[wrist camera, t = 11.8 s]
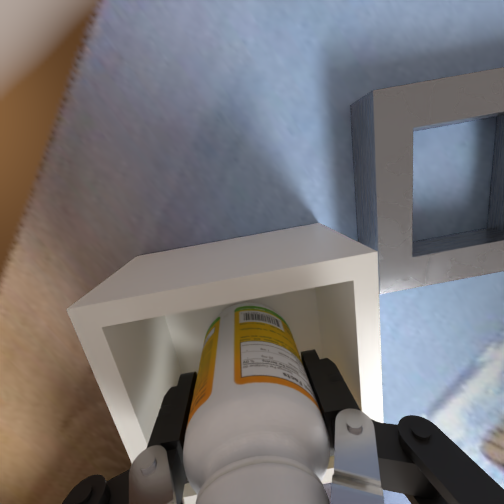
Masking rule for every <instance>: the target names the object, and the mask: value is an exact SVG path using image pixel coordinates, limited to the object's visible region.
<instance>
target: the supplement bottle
mask: <svg viewBox="0 0 504 504" xmlns="http://www.w3.org/2000/svg"><path fill="white" fill-rule="evenodd" d="M329 459H330V441H329V435H328V432H327V428H326V425H325V422H324V419H323V415H322V413H321V410H320V408H319V405H318V403H317V400H316V398H315V395H314V392H313V390H312V387H311V384H310V382H309V379H308V377H307V374H306V371H305V368H304V366H303V363H302V360H301V357H300V355H299V352H298V349H297V347H296V344H295V341H294V338H293V336H292V333H291V331H290V328H289V326H288V324H287V322H286V321H285V319H284V318H283V317H282V316H281V315H280V314H279V313H278V312H276V311H275V310H273V309H272V308H270V307H268V306H265V305H262V304H257V303H242V304H237V305H234V306H231V307H229V308H227V309H225V310H224V311H222V312H221V313H220V314H219V315H217V316H216V317H215V319H214V320H213V321H212V322H211V324H210V326H209V327H208V330H207V332H206V335H205V339H204V344H203V349H202V353H201V359H200V364H199V369H198V374H197V379H196V384H195V389H194V394H193V399H192V404H191V409H190V413H189V418H188V423H187V428H186V433H185V441H184V448H183V464H184V469H185V473H186V476H187V479H188V481H189V483H190V485H191V487H192V488H193V490H194V491H195V493H196V494H197V499H196V504H330V502H329V499H328V496H327V493H326V491H325V489H324V487H323V484H322V482H321V481H322V479H323V478H324V476H325V473H326V471H327V468H328V464H329Z"/></svg>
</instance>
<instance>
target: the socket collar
mask: <svg viewBox="0 0 504 504" xmlns="http://www.w3.org/2000/svg"><path fill="white" fill-rule="evenodd" d="M350 107H351V124H352V142H353V160H354V178H355V196H356V214H357V232H358V242H359V243H361V244H363V245H365V246H367V247H369V248H371V249H373V250H376V251H378V280H379V294H384V293H390V292H395V291H400V290H406V289H411V288H416V287H422V286H427V285H432V284H438V283H443V282H448V281H454V280H459V279H464V278H469V277H475V276H480V275H485V274H491V273H496V272H501V271H504V67H503V68H497V69H491V70H486V71H480V72H474V73H469V74H463V75H457V76H452V77H446V78H440V79H435V80H429V81H423V82H418V83H412V84H407V85H401V86H395V87H390V88H384V89H378V90H373V91H371V92H370V93H368V94H367V95H365V96H364V97H362V98H361V99H359V100H358V101H356V102H355V103H353V104H352V105H350ZM496 116H497V126H496V137H495V148H494V159H493V170H492V181H491V192H490V203H489V213H488V224H487V228H485V229H480V230H475V231H469V232H464V233H459V234H453V235H448V236H442V237H437V238H432V239H426V240H421V241H415V242H412V211H413V131H418V130H423V129H429V128H434V127H440V126H446V125H451V124H457V123H462V122H468V121H473V120H479V119H485V118H490V117H496Z"/></svg>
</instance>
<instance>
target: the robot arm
mask: <svg viewBox="0 0 504 504" xmlns="http://www.w3.org/2000/svg"><path fill="white" fill-rule="evenodd" d="M301 360H302V363H303V366H304V368H305V371H306V374H307V377H308V379H309V382H310V384H311V387H312V390H313V392H314V395H315V398H316V400H317V403H318V405H319V408H320V410H321V413H322V415H323V419H324V422H325V425H326V428H327V432H328V435H329V441H330V456H334V475H332V486H331V504H384V497H383V490H388V491H393V492H398V493H403V494H405V495H406V497H407V498H408V500H409V501H410V502H411V504H504V489H503V488H502V487H501V486H500V485H498V484H497V483H496V482H495V481H494V480H493V479H492V478H491V477H490V476H489V475H488V474H487V473H486V472H485V471H484V470H483V469H481V468H480V467H479V466H478V465H477V464H476V463H475V462H474V461H473V460H472V459H471V458H470V457H469V456H468V455H467V454H465V453H464V452H463V451H462V450H461V449H460V448H459V447H458V446H457V445H456V444H455V443H454V442H453V441H452V440H451V439H449V438H448V437H447V436H446V435H445V434H444V433H443V432H442V431H441V430H440V429H439V428H438V427H437V426H436V425H434V424H433V423H432V422H430V421H429V420H427V419H425V418H422V417H419V416H413V415H410V416H405V417H403V418H402V419H401V420H400V421H399V424H398V425H394V424H386V423H380V422H377V421H374V420H372V419H370V418H369V416H367V415H366V414H365V413H364V412H362V411H361V410H360V408H359V406H358V405H357V403H356V401H355V399H354V397H353V395H352V394H351V392H350V390H349V388H348V386H347V384H346V382H345V381H344V379H343V377H342V375H341V374H340V371H339V370H338V368H337V366H336V364H335V363H333V362H332V361H331V360H330V359H329V358H324V359H319V357H318V355H317V352H316V350H315V349H313V350H307V351H302V352H301ZM196 379H197V372H196V371H194V372H189V373H184V374H181V375H180V377H179V381H178V384H177V386H174V387H171V388H170V389H169V390H168V392H167V393H166V394H165V396H164V398H163V401H162V404H161V408H160V410H159V413H158V416H157V419H156V422H155V425H154V427H153V430H152V433H151V436H150V439H149V442H148V445H147V448H146V449H145V450H144V451H142V452H141V453H140V454H139V455H138V456H137V457H136V458H135V460H134V461H133V463H132V465H131V467H130V469H129V470H127V471H126V472H124V473H122V474H120V475H118V476H116V477H114V478H112V479H110V480H109V481H107V482H106V480H105V478H104V477H103V476H102V475H92V476H89V477H87V478H86V479H84V480H82V481H81V482H80V483H79V484H77V485H76V486H75V487H74V488H73V489H72V491H71V492H70V493H69V494H68V496H67V497H66V499H65V500H64V502H63V503H62V504H185V503H184V499H183V491H184V485H185V484H187V483H189V481H188V479H187V476H186V473H185V469H184V464H183V448H184V441H185V433H186V428H187V423H188V418H189V413H190V409H191V404H192V399H193V394H194V389H195V384H196ZM382 489H383V490H382Z"/></svg>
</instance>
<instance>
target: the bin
mask: <svg viewBox="0 0 504 504" xmlns="http://www.w3.org/2000/svg"><path fill="white" fill-rule="evenodd" d="M242 303H257V304H262V305H265V306H268V307H270V308H272V309H273V310H275V311H276V312H278V313H279V314H280V315H281V316H282V317H283V318H284V319H285V321H286V322H287V324H288V326H289V328H290V331H291V333H292V336H293V338H294V341H295V344H296V347H297V349H298V352H299V355H300V357H301V352H302V351H307V350H313V349H315V350H316V352H317V355H318V357H319V359H324V358H329V359H330V360H331V361H332V362H333V363H335V364H336V366H337V368H338V370H339V371H340V374H341V375H342V377H343V379H344V381H345V382H346V384H347V386H348V388H349V390H350V392H351V394H352V395H353V397H354V399H355V401H356V403H357V405H358V406H359V408H360V410H361V411H362V412H364V413H365V414H366V415H367V416H369V418H370V419H372V420H374V421H377V422H380V423H383V398H382V368H381V339H380V309H379V280H378V251H376V250H373V249H371V248H369V247H367V246H365V245H363V244H361V243H359V242H357V241H355V240H353V239H351V238H349V237H347V236H345V235H343V234H341V233H339V232H337V231H335V230H333V229H331V228H329V227H327V226H325V225H323V224H321V223H315V224H309V225H304V226H298V227H293V228H287V229H282V230H276V231H271V232H266V233H260V234H255V235H249V236H244V237H238V238H233V239H227V240H222V241H217V242H211V243H206V244H200V245H195V246H189V247H184V248H178V249H173V250H168V251H162V252H157V253H151V254H146V255H140V256H136V257H135V258H134V259H132V260H131V261H130V262H128V263H127V264H126V265H124V266H123V267H122V268H120V269H119V270H118V271H116V272H115V273H114V274H112V275H111V276H110V277H108V278H107V279H106V280H104V281H103V282H102V283H100V284H99V285H98V286H96V287H95V288H94V289H92V290H91V291H90V292H89V293H87V294H86V295H85V296H83V297H82V298H81V299H79V300H78V301H77V302H75V303H74V304H73V305H71V306H70V307H69V308H67V309H66V310H67V312H68V315H69V317H70V319H71V322H72V324H73V326H74V329H75V331H76V333H77V336H78V338H79V340H80V343H81V345H82V347H83V350H84V352H85V355H86V357H87V359H88V362H89V364H90V366H91V369H92V371H93V373H94V376H95V378H96V380H97V383H98V385H99V387H100V390H101V392H102V394H103V397H104V399H105V401H106V404H107V406H108V409H109V411H110V413H111V416H112V418H113V420H114V423H115V425H116V427H117V430H118V432H119V434H120V437H121V439H122V441H123V444H124V446H125V448H126V451H127V453H128V455H129V458H130V460H131V463H133V461H134V460H135V458H136V457H137V456H138V455H139V454H140V453H141V452H142V451H144V450H145V449H146V448H147V445H148V442H149V439H150V436H151V433H152V430H153V427H154V425H155V422H156V419H157V416H158V413H159V410H160V408H161V404H162V401H163V398H164V396H165V394H166V393H167V392H168V390H169V389H170V388H171V387H174V386H177V384H178V381H179V377H180V375H181V374H184V373H189V372H194V371H196V372H197V374H198V369H199V364H200V359H201V353H202V349H203V344H204V339H205V335H206V332H207V330H208V327H209V326H210V324H211V322H212V321H213V320H214V319H215V317H216V316H217V315H219V314H220V313H221V312H222V311H224V310H225V309H227V308H229V307H231V306H234V305H237V304H242ZM332 475H334V456H330V459H329V464H328V468H327V471H326V473H325V476H324V478H323V479H322V481H321V482H322V484H326V483H331V482H332ZM183 499H184V503H185V504H196V499H197V494H196V493H195V491H194V490H193V488H192V487H191V485H190V483H187V484H185V485H184V491H183Z"/></svg>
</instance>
